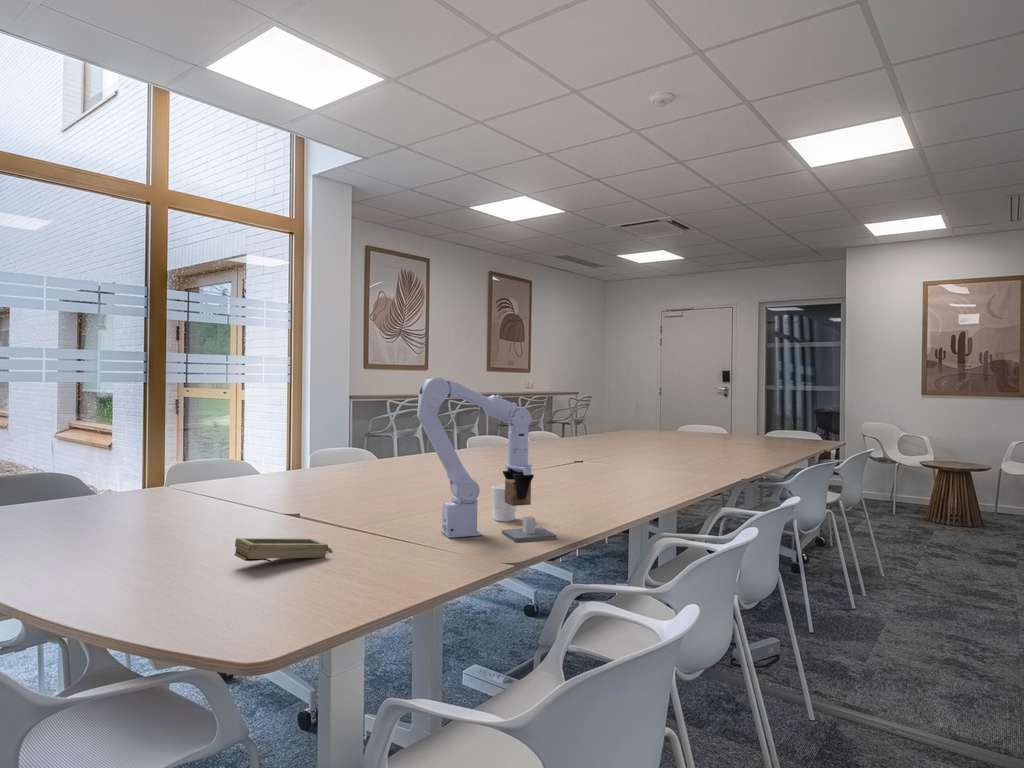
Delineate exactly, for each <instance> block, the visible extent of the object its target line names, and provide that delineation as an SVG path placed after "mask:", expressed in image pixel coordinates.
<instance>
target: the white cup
mask: <svg viewBox="0 0 1024 768" xmlns="http://www.w3.org/2000/svg"><path fill="white" fill-rule="evenodd" d="M491 505H492V506H491V507H492V508H491V509H492V519H493V520H494V521H496V522H513V521H515V519H516V511H517V506H511V505H509V504H507V503H505V484H494V485H492V486H491Z"/></svg>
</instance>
